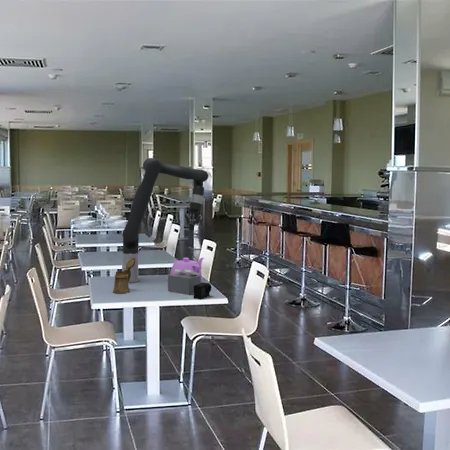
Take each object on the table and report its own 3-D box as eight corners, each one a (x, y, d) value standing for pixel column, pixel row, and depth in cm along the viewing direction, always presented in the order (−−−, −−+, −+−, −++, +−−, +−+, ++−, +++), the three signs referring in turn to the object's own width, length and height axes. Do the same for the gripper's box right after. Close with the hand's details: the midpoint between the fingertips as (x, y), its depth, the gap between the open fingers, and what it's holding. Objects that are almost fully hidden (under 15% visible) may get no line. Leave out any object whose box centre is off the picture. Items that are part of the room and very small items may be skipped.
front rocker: (191, 275, 327) (192, 272, 327) (197, 276, 324) (198, 273, 325) (184, 272, 321) (185, 269, 322) (190, 273, 319) (191, 270, 319)
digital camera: (202, 299, 306) (202, 286, 305) (193, 298, 308) (193, 285, 307) (211, 295, 315) (211, 283, 314) (202, 294, 317) (202, 282, 317)
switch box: (179, 288, 333) (179, 272, 332) (200, 291, 324) (200, 275, 323) (167, 291, 325) (168, 275, 324) (188, 294, 316) (189, 278, 315)
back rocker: (182, 273, 331) (183, 269, 331) (188, 274, 329) (188, 270, 329) (174, 272, 325) (175, 268, 326) (180, 273, 323) (180, 269, 323)
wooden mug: (139, 290, 324) (139, 258, 322) (119, 294, 314) (119, 261, 312) (129, 288, 330) (129, 256, 328) (109, 291, 320) (109, 259, 319)
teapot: (188, 288, 334) (188, 261, 333) (165, 282, 350) (165, 257, 348) (217, 283, 350) (218, 258, 349) (194, 277, 365) (194, 254, 364)
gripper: (184, 200, 357) (178, 228, 355) (201, 202, 349) (195, 230, 348) (191, 203, 363) (186, 230, 361) (208, 204, 355) (203, 232, 354)
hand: (191, 230), depth 355 cm, fingers closed
